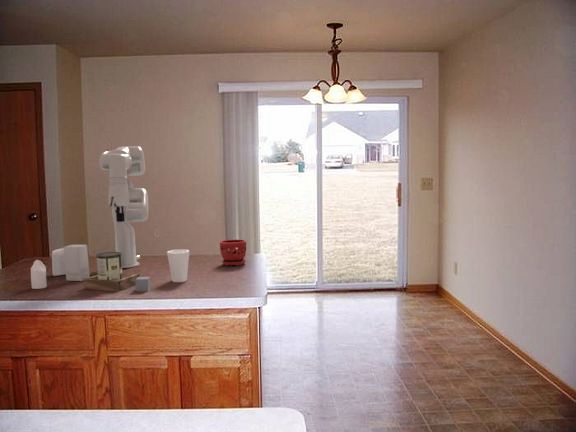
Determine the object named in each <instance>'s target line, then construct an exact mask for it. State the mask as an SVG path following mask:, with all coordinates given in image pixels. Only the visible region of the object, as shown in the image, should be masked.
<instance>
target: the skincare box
mask: <svg viewBox="0 0 576 432" xmlns="http://www.w3.org/2000/svg"><path fill="white" fill-rule="evenodd" d="M63 249H64V259H65V269H66V275H65V278H66V279H65V280H66V281H69V282H70V281H71V282H72V281H73V282H83V279H86V278H89V277H91V276H90V275H91V274H90V265H89V264H90V263H89V255H88V245H87V244H69V245H66V246H63Z"/></svg>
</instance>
